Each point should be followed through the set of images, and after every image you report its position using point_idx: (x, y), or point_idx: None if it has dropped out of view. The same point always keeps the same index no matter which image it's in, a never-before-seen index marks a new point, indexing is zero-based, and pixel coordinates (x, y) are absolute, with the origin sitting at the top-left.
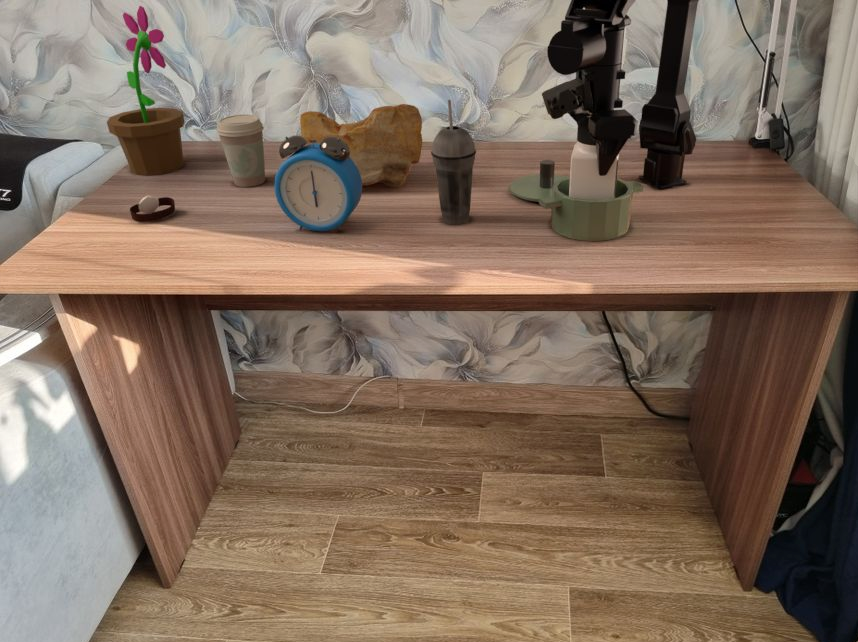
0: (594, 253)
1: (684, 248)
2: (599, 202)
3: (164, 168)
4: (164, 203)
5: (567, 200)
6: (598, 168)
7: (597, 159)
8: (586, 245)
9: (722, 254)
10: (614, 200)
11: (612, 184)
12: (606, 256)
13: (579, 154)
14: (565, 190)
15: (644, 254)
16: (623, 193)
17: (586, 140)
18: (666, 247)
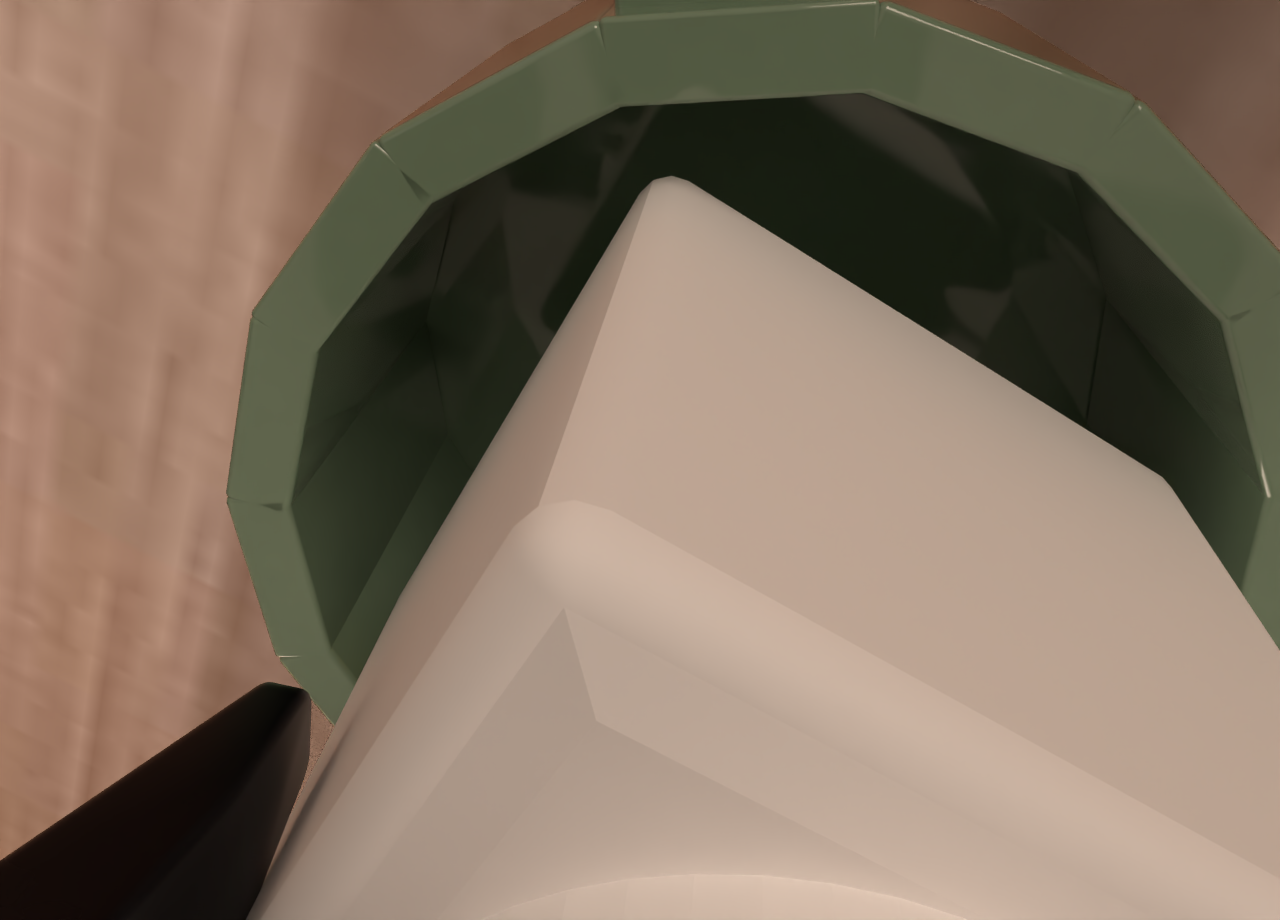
0: (149, 92)
1: (151, 708)
2: (239, 416)
3: None
4: None
5: (500, 69)
6: (219, 755)
7: (116, 890)
8: (336, 108)
9: (42, 818)
10: (255, 587)
11: (333, 728)
12: (75, 165)
13: (541, 756)
14: (1186, 358)
15: (84, 453)
16: None
17: None
18: (183, 632)
